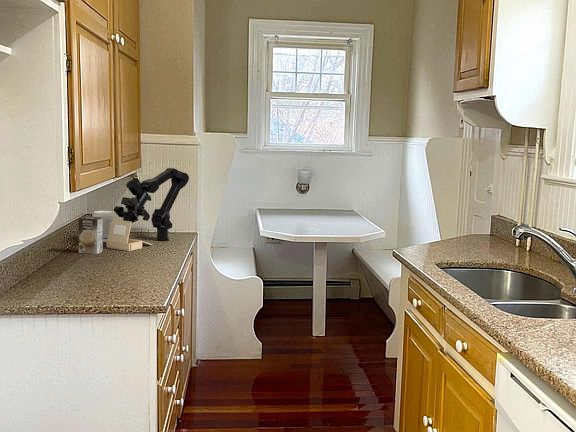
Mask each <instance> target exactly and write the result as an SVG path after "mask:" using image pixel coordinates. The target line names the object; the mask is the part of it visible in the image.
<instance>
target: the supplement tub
mask: <svg viewBox="0 0 576 432" xmlns="http://www.w3.org/2000/svg"><path fill="white" fill-rule="evenodd" d="M92 217H102V243H107V240H108V235H109V231H110V226H111V222H112V219H114V212H113V211H112V210H96V211H93V216H92Z"/></svg>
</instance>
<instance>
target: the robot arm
mask: <svg viewBox="0 0 576 432" xmlns="http://www.w3.org/2000/svg"><path fill="white" fill-rule="evenodd" d="M168 180H171V181H170V182H171V186H170V188H169V190H168V192H167V194H166V196H165V198H164V200H163V202H162V204H161V206H160V207H159V208H155V209H154V210H153V213H152V214H151V215H150V214H149V212H148V211H147V210H146V209H145V204H146V203H147V201H150V202H151V201H152V197H151V195H150V194H155V193H156V192H157V191H158V190H159V188H160V186H161V185H162V184H164V183H166V182H167V181H168ZM189 180H190V176H189V174H188V173H187V172H184V171H182V170H181V171H180V170H179V169H177V168H174V167H167V168H166V169H165V170H164V171H162V172H160V173H158V175H156V176H154V177H153V178H147V179H145V180H142V182H141V181H140V179H139V178H137V177H133V179H130V180H129V181H127V182H126V185H125V186H126V188H127V190H128V191H129V192H130V194H131V195H132V197H126V196H122V199H121V201H120V204H121V205H124V206H125V208H124V207H123V206H121V205H120V206H119V205H116V206H114V208H113V211H114V213H115V214H116V215H117V217H119V218H122V220H123V221H130V222H132V224H133V223H135V222H138V221H139V218H140V217H142V220H143V221H147V222H148V221H149V220H151V224H152V227H153V229H154V228H155V229H156V238H155V241H158V242H160V241H165V242H166V241H168V242H169V241H170V237H169V230H171V229H172V228H173V223H172V221H171V220H170V218H171V216H170V214H171V213H170V212H171V209H172V207H173V206H174V203H175V202H176V199H177V197H178V195H179V193H180V191H181V190H182V189H183V188H185V187H186V186H187V184H188V183H189ZM133 196H134V197H133ZM150 218H151V219H150Z"/></svg>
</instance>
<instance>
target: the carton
mask: <svg viewBox="0 0 576 432" xmlns="http://www.w3.org/2000/svg"><path fill="white" fill-rule="evenodd" d="M153 244H154V243H153ZM153 244H152V243H150V242H147V241H143V240H141V239H140V240H139V239H134V238H128V242H127V243H125V242H118V241H112V240H107V242H106V248H107V249H113V250H118V251H123V252H124V251H125V252H133V251H136V250H142V249H143V245H149V246H153Z"/></svg>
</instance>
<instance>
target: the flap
mask: <svg viewBox="0 0 576 432" xmlns="http://www.w3.org/2000/svg"><path fill="white" fill-rule="evenodd" d="M132 224H133V223H132V222H130V221H123V219H122V220H121V219H114V218H113V219H112V222H111V226H110V231H109V235H108V240H112V241H118V242H125V243H127V242H128V239H129V238H130V237H129V236H130V232H131V228H132Z"/></svg>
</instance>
